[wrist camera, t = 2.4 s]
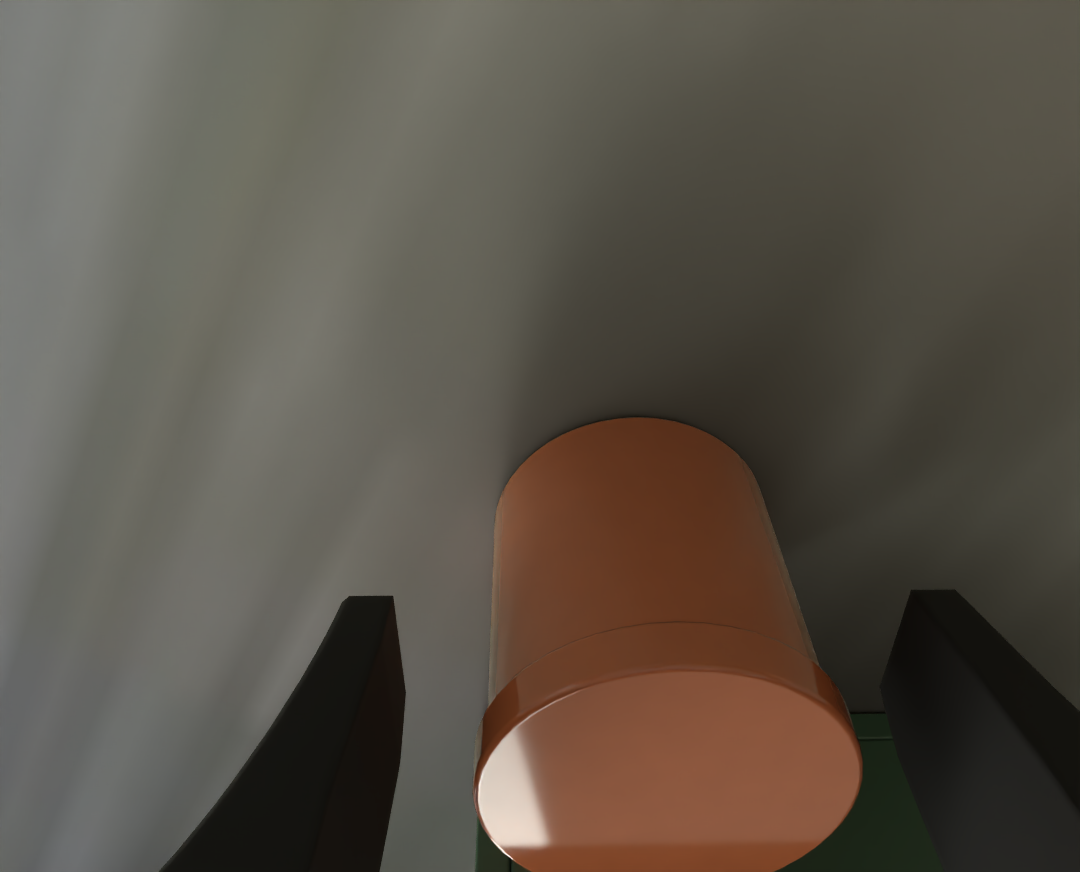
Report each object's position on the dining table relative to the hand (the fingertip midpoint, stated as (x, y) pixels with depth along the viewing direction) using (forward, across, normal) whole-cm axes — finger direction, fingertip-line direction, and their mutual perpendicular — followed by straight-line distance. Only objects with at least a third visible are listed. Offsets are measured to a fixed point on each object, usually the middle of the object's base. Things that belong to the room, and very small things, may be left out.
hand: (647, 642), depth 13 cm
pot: (+3, 0, 0) cm, 3 cm away
